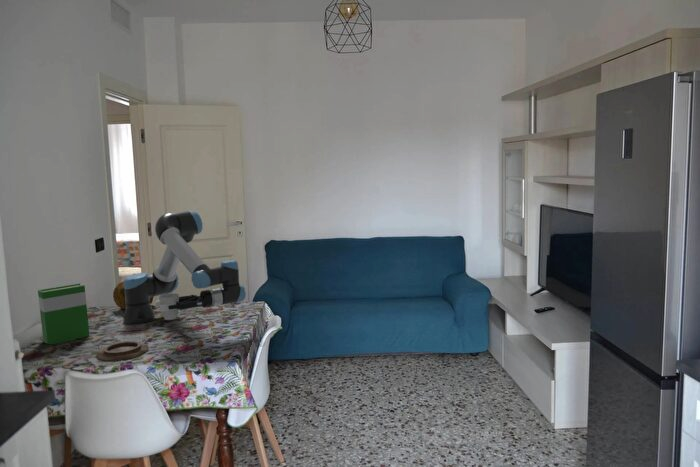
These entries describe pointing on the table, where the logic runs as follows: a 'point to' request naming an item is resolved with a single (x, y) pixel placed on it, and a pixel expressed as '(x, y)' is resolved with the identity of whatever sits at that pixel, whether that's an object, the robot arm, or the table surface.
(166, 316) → the cup
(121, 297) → the decorative pumpkin
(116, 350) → the round tray
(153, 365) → the table surface
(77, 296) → the hardback book
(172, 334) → the table surface
